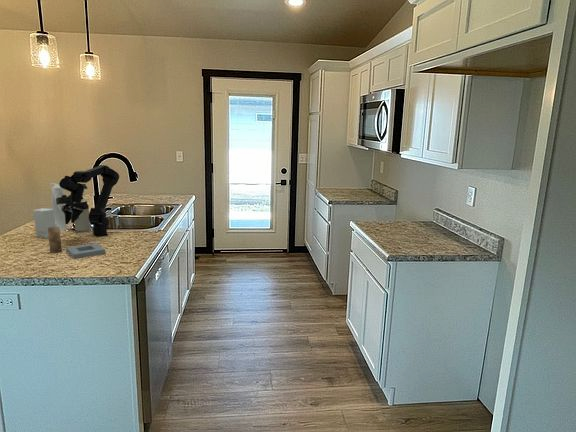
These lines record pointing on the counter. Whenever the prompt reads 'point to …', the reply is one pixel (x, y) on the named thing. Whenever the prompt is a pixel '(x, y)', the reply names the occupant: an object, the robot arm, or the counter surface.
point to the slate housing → (85, 250)
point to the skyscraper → (58, 207)
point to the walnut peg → (54, 239)
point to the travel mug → (83, 219)
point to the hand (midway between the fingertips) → (69, 223)
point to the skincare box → (43, 221)
